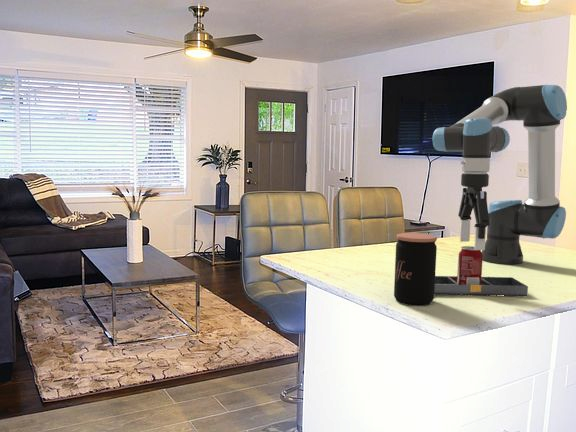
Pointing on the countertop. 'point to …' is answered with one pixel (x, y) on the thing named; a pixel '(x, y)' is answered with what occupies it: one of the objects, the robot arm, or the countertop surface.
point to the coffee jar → (415, 269)
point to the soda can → (469, 266)
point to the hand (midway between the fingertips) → (471, 245)
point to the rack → (480, 287)
